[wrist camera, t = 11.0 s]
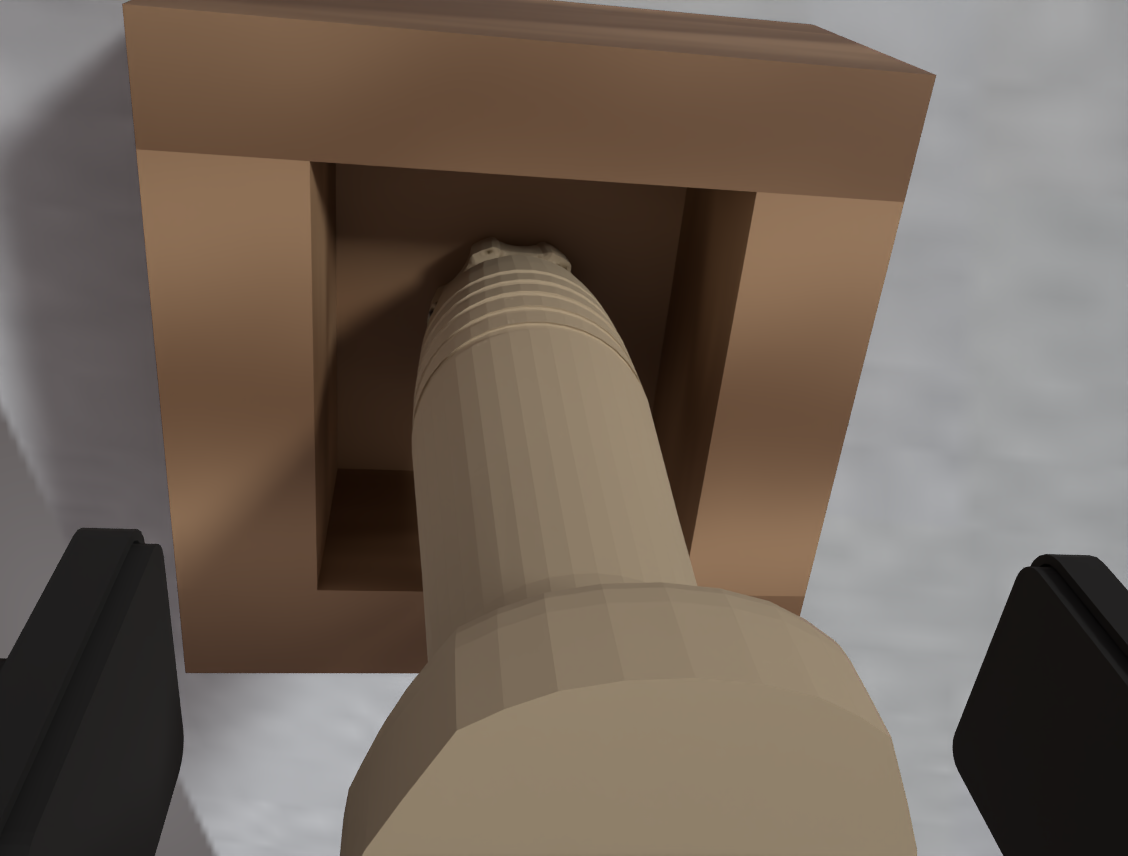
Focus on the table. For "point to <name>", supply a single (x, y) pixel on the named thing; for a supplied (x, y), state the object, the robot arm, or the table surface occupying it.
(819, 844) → the handle
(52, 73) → the table surface
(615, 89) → the block
